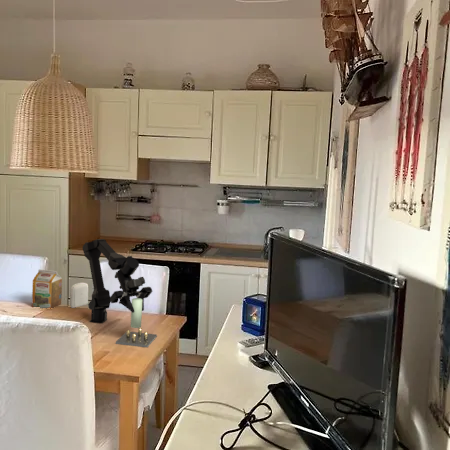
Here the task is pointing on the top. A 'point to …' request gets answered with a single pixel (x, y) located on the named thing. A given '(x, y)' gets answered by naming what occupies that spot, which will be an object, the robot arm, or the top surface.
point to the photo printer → (78, 295)
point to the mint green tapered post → (136, 313)
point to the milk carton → (47, 289)
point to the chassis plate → (136, 338)
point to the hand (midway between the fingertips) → (138, 311)
